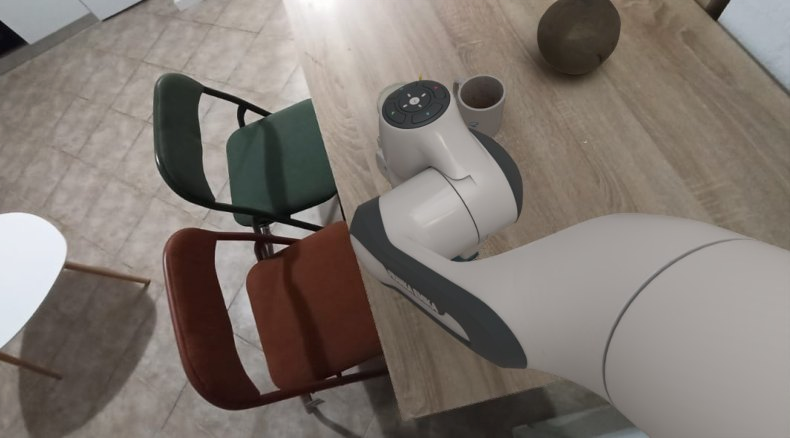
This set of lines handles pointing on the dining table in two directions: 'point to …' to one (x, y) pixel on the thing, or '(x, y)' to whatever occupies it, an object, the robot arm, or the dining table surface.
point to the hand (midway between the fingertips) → (428, 218)
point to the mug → (481, 102)
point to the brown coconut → (578, 34)
